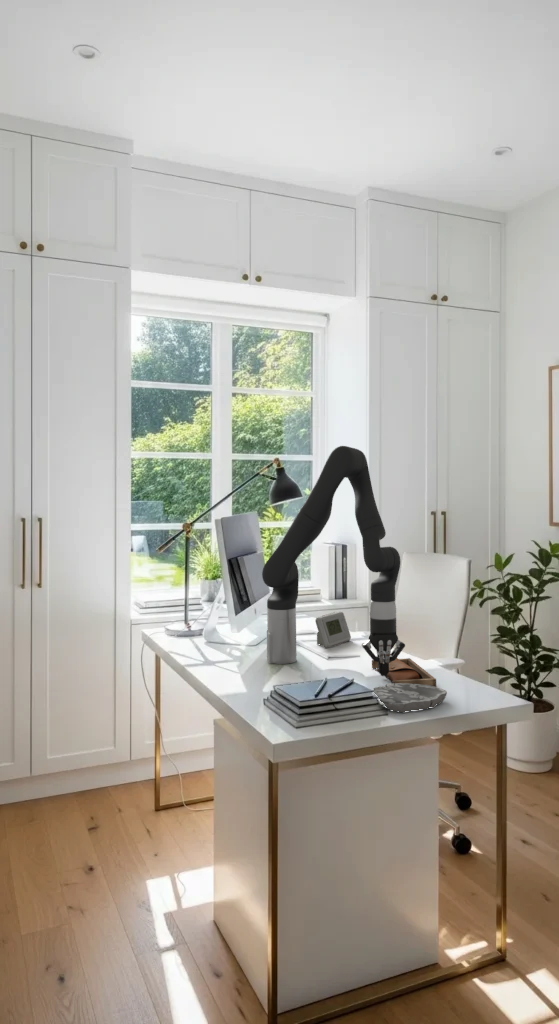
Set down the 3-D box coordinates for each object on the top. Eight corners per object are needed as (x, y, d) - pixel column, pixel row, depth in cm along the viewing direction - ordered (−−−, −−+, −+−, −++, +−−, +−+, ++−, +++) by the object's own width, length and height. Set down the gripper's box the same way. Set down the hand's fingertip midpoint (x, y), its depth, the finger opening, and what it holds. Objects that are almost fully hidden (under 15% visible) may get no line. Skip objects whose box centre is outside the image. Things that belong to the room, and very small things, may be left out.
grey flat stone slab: (407, 689, 196) (407, 678, 196) (456, 704, 182) (456, 692, 182) (355, 703, 184) (355, 692, 184) (404, 720, 171) (404, 708, 171)
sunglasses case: (373, 669, 216) (383, 650, 216) (391, 679, 217) (402, 660, 218) (395, 685, 198) (407, 664, 199) (415, 697, 200) (427, 676, 200)
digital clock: (325, 649, 244) (324, 619, 243) (307, 645, 250) (307, 615, 250) (357, 642, 254) (357, 612, 254) (339, 638, 261) (339, 609, 261)
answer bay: (393, 690, 194) (393, 681, 194) (371, 668, 218) (371, 660, 218) (436, 688, 196) (436, 679, 196) (409, 666, 219) (409, 658, 219)
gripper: (363, 619, 201) (364, 679, 202) (409, 617, 202) (409, 677, 203) (357, 614, 208) (358, 672, 209) (401, 612, 210) (401, 670, 211)
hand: (383, 675), depth 206 cm, fingers closed
